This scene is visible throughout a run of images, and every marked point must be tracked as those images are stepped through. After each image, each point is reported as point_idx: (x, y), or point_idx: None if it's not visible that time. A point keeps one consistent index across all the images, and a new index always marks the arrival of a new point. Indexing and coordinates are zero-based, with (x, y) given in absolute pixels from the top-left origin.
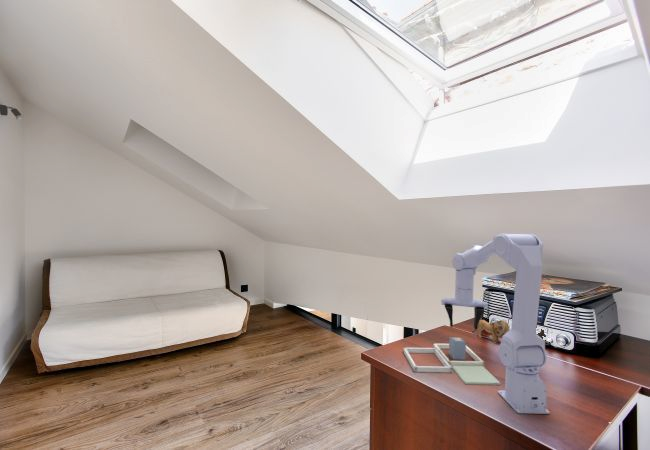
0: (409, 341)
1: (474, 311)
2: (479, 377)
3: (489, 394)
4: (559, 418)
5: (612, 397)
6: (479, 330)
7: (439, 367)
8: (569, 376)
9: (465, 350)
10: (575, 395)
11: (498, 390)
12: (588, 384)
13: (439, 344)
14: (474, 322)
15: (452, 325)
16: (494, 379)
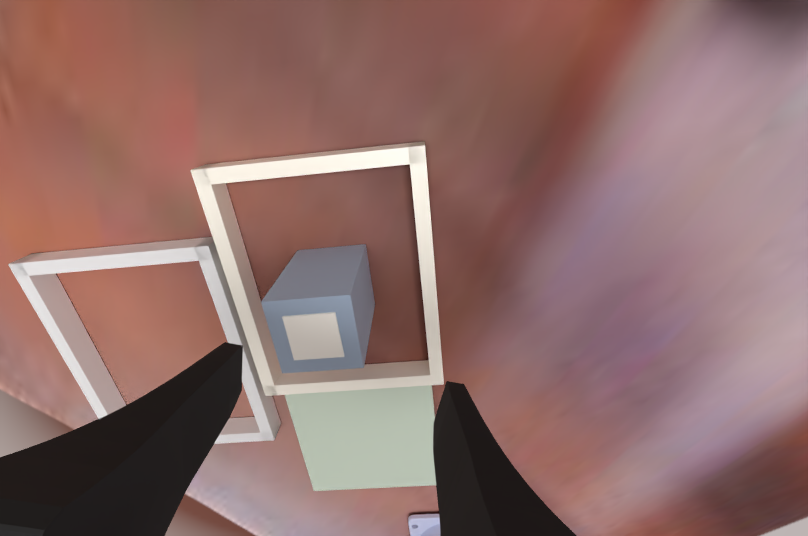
0: (24, 66)
1: (486, 515)
2: (377, 462)
3: (378, 520)
4: None
5: (788, 506)
6: None
7: (220, 442)
8: (789, 404)
9: (369, 333)
10: (667, 506)
11: (411, 519)
12: (800, 449)
13: (234, 181)
14: (450, 434)
15: (233, 404)
16: (430, 468)
